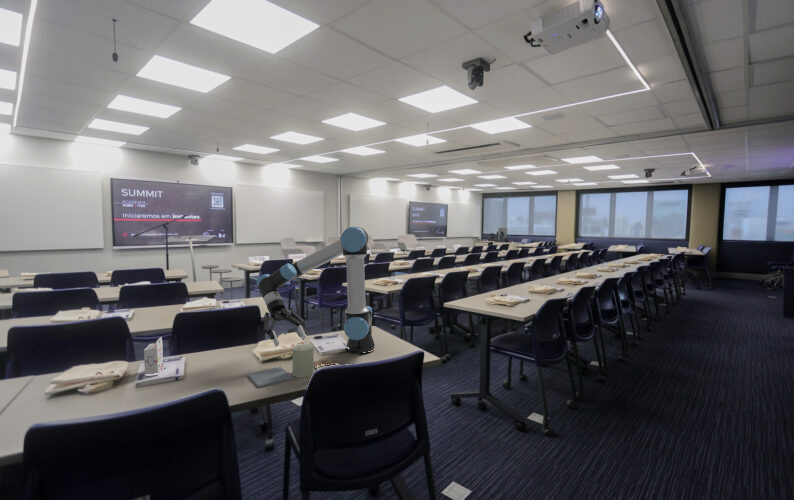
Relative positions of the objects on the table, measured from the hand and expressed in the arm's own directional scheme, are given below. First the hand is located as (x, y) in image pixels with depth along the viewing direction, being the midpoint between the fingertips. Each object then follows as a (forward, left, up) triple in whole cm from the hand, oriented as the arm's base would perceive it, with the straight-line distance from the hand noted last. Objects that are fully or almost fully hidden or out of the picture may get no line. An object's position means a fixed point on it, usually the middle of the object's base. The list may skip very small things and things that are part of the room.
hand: (291, 341), depth 155 cm
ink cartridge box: (+49, -30, -13) cm, 59 cm away
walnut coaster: (-14, +6, -12) cm, 20 cm away
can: (-2, +8, -13) cm, 15 cm away
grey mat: (+11, +4, -12) cm, 17 cm away
